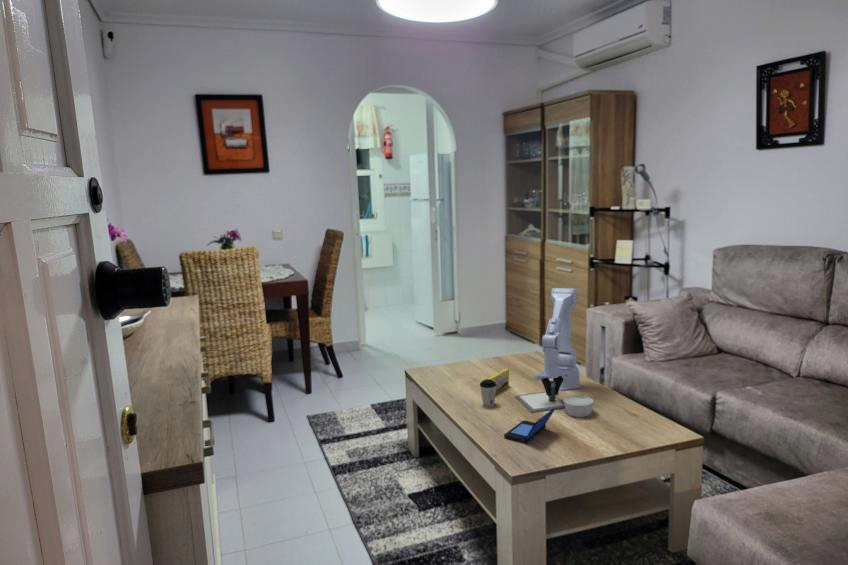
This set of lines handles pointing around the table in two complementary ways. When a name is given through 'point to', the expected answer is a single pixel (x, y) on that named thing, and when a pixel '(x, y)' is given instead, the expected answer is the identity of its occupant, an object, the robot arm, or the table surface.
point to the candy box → (501, 380)
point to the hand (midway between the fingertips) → (552, 394)
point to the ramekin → (578, 405)
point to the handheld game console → (528, 429)
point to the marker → (552, 392)
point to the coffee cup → (488, 392)
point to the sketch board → (539, 402)
